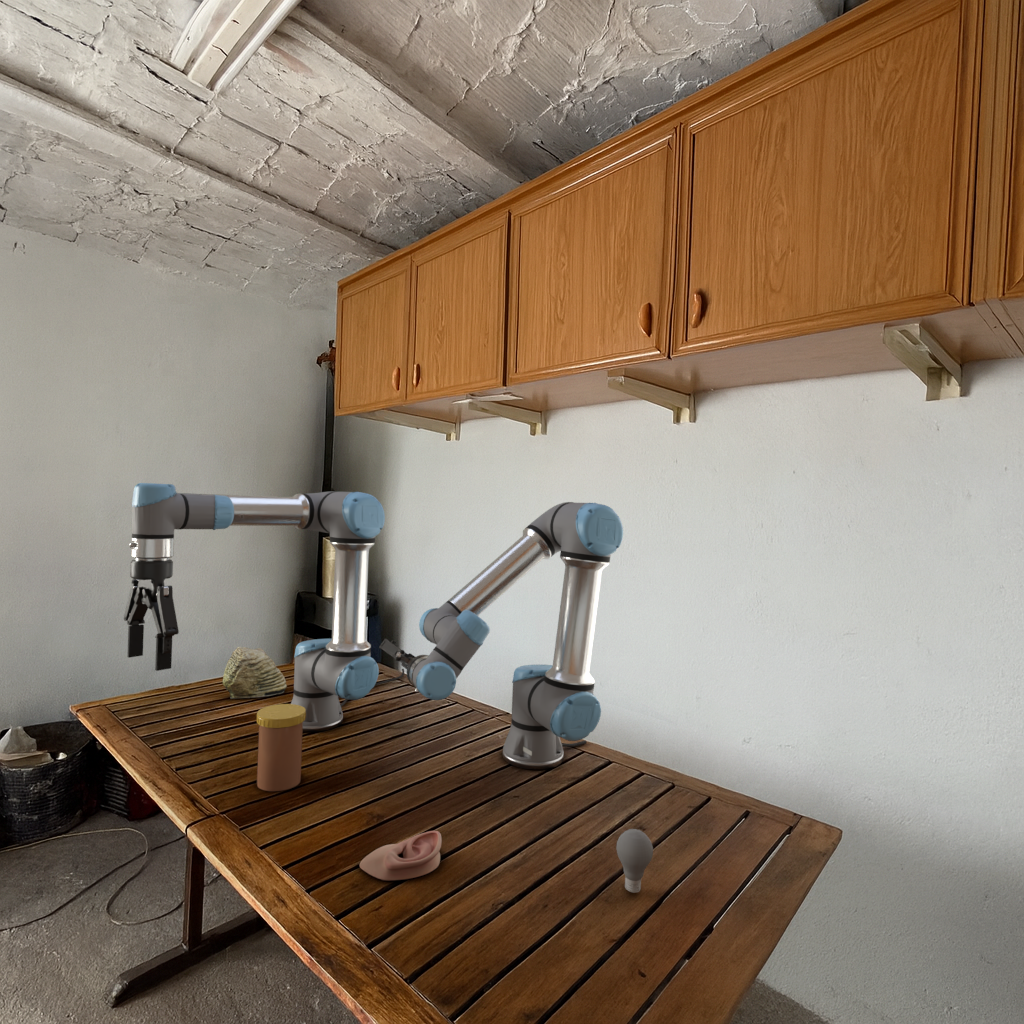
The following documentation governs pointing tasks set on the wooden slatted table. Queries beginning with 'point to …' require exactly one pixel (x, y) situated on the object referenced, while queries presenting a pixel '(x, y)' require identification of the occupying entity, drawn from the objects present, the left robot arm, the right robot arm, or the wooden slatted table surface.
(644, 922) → the wooden slatted table surface
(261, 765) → the jar
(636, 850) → the light bulb
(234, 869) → the wooden slatted table surface
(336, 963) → the wooden slatted table surface
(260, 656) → the fossil
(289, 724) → the lid
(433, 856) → the anatomical model
